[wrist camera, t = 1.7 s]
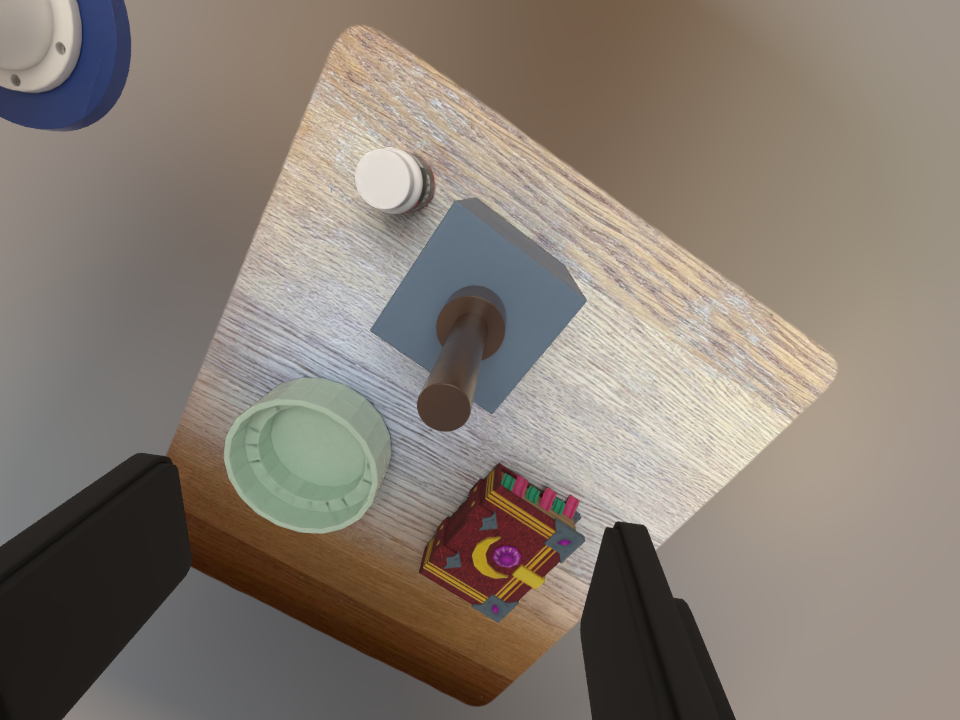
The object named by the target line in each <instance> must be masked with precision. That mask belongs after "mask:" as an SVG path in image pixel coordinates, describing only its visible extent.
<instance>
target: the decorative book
mask: <svg viewBox="0 0 960 720" xmlns="http://www.w3.org/2000/svg"><path fill="white" fill-rule="evenodd" d="M556 495H557V493H556V492H554V491H553V490H551V489H550V488H548V487H547V488H546V490H545V492H544V493H543V492H542V491H540V490H539V489H537V488H536V487H534V486H533V485H531V484H530V483H528V481H527V480H526V479H524V478H523V477H521V476H520V475H516V474H515V473H513V472H512V471H510V470H509V469H507V468H506V467H504V466H503V465H501V464H500V463H499V464H498V465H497V466H496V467H495V468H494V470H493V471H492V472H491V473H490V474H489V475H488V476H487V478H486V479H485V480H482V479H480V480H479V481H478V483H477V484H476V485H475V486H474V487H473V488H472V489H471V491H470V495H469V498H468V499H467V500H466V501H465V503H464V504H463V505H462V506H461V507H460V508H459V509H458V511H457V512H456V513H455V514H454V515H453V516H452V517H451V518H449V517H447V518H446V519H445V520H444V521H443V523H442V524H441V525H440V526H439V527H438V529H437V533H436V536H435V537H434V538H433V539H432V540H431V541H430V542H429V543H428V545H427V546H426V547H425V550H424V554H423V558H422V562H421V566H420V570H419V573H420V574H422V575H424V576H425V577H427V578H429V579H430V580H432V581H434V582H435V583H437V584H439V585H440V586H442V587H444V588H445V589H447V590H449V591H450V592H452V593H454V594H455V595H457V596H459V597H460V598H462V599H464V600H465V601H467V602H469V603H470V604H472V605H471V607H473V608H475V609H476V610H478V611H480V612H481V613H483V614H484V615H486V616H488V617H489V618H491V619H493V620H494V621H496V622H498V623H499V622H500V621H501V620H502V619H503V618H504V617H505V616H506V615H507V614H508V613H509V612H510V611H511V610H512V609H513V608H514V607H515V606H516V605H517V604H518V603H519V600H520V599H521V598H522V597H523V596H524V595H525V594H526V593H527V592H528V591H529V590H530V589H531V588H534V589H535V590H536V589H537V588H538V587H539V586H540V585H542V584H543V583H544V582H545V575H546V574H547V573H548V572H549V571H550V570H551V569H552V568H554V567H555V566H556V565H557V564H558V563H559V562H560V563H562V562H563V561H564V560H565V559H566V558H567V557H569V556H570V555H571V554H572V553H573V552H574V551H575V550H576V549H577V548H578V547H579V546H580V545H582V544H583V543H584V542H585V538H584V536H583V535H582V534H580V533H579V532H577V531H576V529H575V523H577V522H578V521H579V520H580V519H581V517H580V514H579V513H578V512H576V508H577V506H578V504H579V502H580V501H579V500H577V499H576V498H574V497H573V496H571V495H570V496H569V498H568V500H567V502H566V505H565V503H564V502H562V501H561V500H559V499H558V498H555V497H556Z"/></svg>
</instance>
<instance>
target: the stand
mask: <svg viewBox="0 0 960 720" xmlns="http://www.w3.org/2000/svg"><path fill="white" fill-rule="evenodd" d="M472 285H476V286H483V287H486V288H488V289H490V290H492V291H493V292H495V293H496V294H497V295H498V296H499V297H500V299H501V300H502V302H503V304H504V306H505V309H506V328H505V336H504V340H503V343H502V345H501V346H500V348H499V349H498V350H497V352H496V353H495V354H493V355H492V356H491V357H489V358H487V359H485V360H482V361H481V366H480V370H479V375H478V380H477V384H476V389H475V393H474V398H473V402H475V403H476V404H478V405H479V406H480V407H482V408H483V409H485V410H486V411H488V412H489V413H491V414H493V413H494V411H495V410H496V409H497V408H498V407H499V405H500V404H501V403H502V402H503V401H504V399H505V398H506V397H507V396H508V395H509V393H510V392H511V391H512V390H513V389H514V387H515V386H516V385H517V384H518V383H519V381H520V380H521V379H522V378H523V377H524V376H525V374H526V373H527V372H528V371H529V370H530V368H531V367H532V366H533V365H534V364H535V362H536V361H537V360H538V359H539V358H540V356H541V355H542V354H543V353H544V352H545V350H546V349H547V348H548V347H549V346H550V345H551V343H552V342H553V341H554V340H555V339H556V337H557V336H558V335H559V334H560V333H561V331H562V330H563V329H564V328H565V327H566V325H567V324H568V323H569V322H570V321H571V319H572V318H573V317H574V316H575V315H576V314H577V312H578V311H579V310H580V309H581V308H582V306H583V305H584V304H585V303H586V302H587V300H586V298H585V297H584V295H583V294H582V292H581V290H580V289H579V287H578V286H577V284H576V282H575V281H574V279H573V278H572V276H571V274H570V273H569V271H568V270H567V268H566V266H565V265H564V264H563V263H561V262H560V261H559V260H557V259H556V258H555V257H553V256H552V255H551V254H550V253H548V252H547V251H546V250H544V249H543V248H542V247H540V246H539V245H538V244H536V243H535V242H534V241H533V240H531V239H530V238H529V237H527V236H526V235H525V234H523V233H522V232H521V231H520V230H518V229H517V228H516V227H514V226H513V225H512V224H510V223H509V222H508V221H506V220H505V219H504V218H503V217H501V216H500V215H499V214H497V213H496V212H495V211H493V210H492V209H491V208H490V207H488V206H487V205H486V204H484V203H483V202H482V201H480V200H479V199H478V198H470V199H464V200H458V201H454V203H453V205H452V206H451V208H450V209H449V211H448V212H447V214H446V215H445V217H444V218H443V220H442V221H441V223H440V224H439V226H438V227H437V229H436V230H435V232H434V234H433V235H432V237H431V238H430V240H429V241H428V243H427V244H426V246H425V247H424V249H423V250H422V252H421V253H420V255H419V256H418V258H417V259H416V261H415V262H414V264H413V266H412V267H411V269H410V270H409V272H408V273H407V275H406V276H405V278H404V279H403V281H402V282H401V284H400V285H399V287H398V288H397V290H396V291H395V293H394V295H393V296H392V298H391V299H390V301H389V302H388V304H387V305H386V307H385V308H384V310H383V311H382V313H381V314H380V316H379V317H378V319H377V320H376V322H375V324H374V325H373V327H372V328H371V330H370V331H371V332H372V333H374V334H375V335H377V336H378V337H380V338H381V339H383V340H384V341H386V342H387V343H388V344H390V345H391V346H393V347H394V348H396V349H397V350H399V351H400V352H402V353H403V354H405V355H406V356H407V357H409V358H410V359H412V360H413V361H415V362H416V363H418V364H419V365H421V366H422V367H424V368H425V369H426V370H428V371H429V372H431V371H432V368H433V366H434V364H435V362H436V360H437V358H438V356H439V354H440V352H441V350H442V348H443V347H442V346H441V344H440V342H439V340H438V337H437V332H436V323H437V319H438V316H439V314H440V312H441V310H442V309H443V307H444V305H445V304H446V302H447V301H448V299H449V298H450V297H451V295H452V294H453V293H454V292H456V291H457V290H459V289H461V288H463V287H466V286H472Z"/></svg>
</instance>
